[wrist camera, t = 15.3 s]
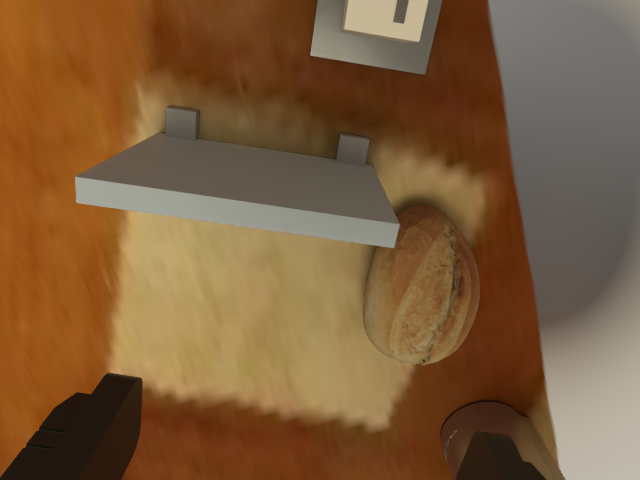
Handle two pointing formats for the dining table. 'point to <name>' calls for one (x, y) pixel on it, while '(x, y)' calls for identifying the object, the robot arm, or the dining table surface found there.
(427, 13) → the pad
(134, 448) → the robot arm
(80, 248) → the dining table surface
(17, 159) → the dining table surface
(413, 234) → the bread roll
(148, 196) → the screen
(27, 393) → the dining table surface
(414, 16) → the letter cube
